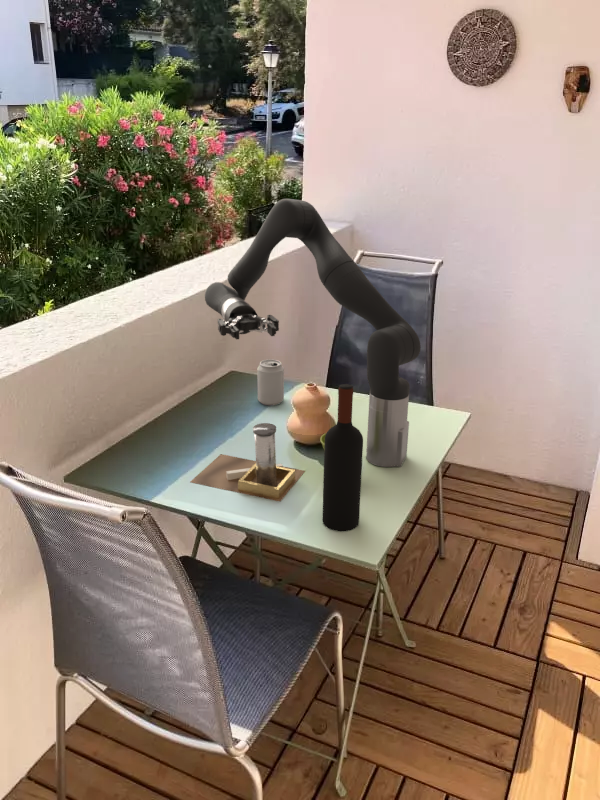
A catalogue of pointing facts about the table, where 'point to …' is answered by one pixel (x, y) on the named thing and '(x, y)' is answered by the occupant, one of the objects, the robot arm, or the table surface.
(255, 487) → the keeper
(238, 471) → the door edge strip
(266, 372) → the can
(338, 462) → the wine bottle
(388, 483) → the table surface
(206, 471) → the board
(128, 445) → the table surface
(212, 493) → the table surface
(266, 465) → the silver cylindrical piece
